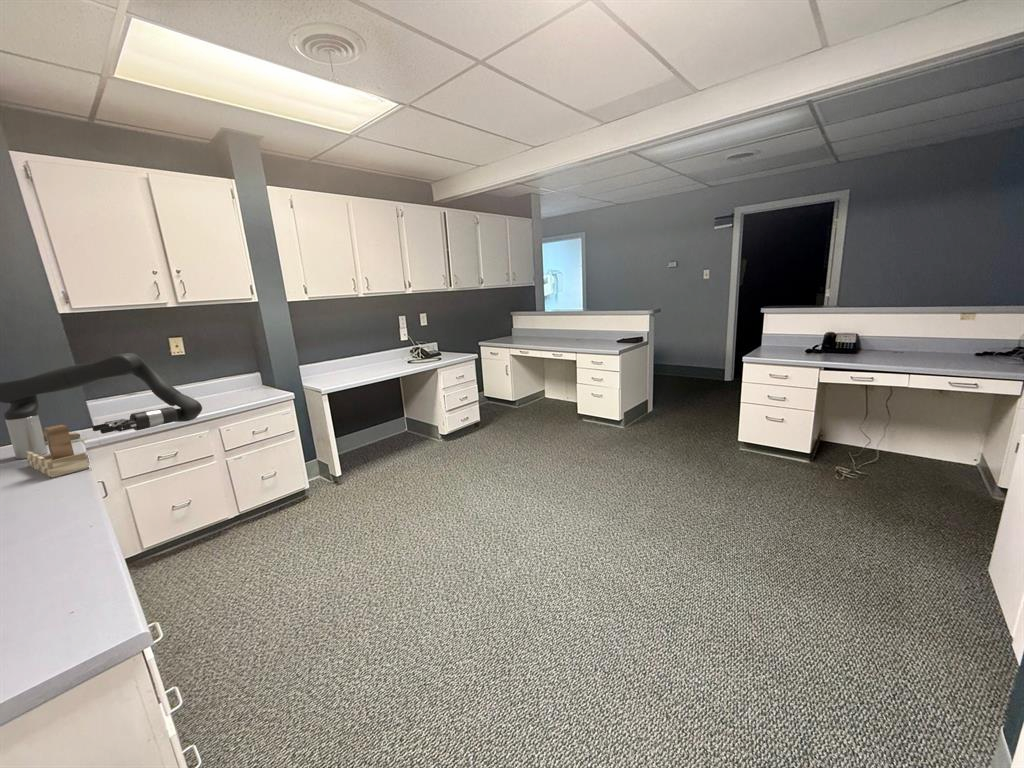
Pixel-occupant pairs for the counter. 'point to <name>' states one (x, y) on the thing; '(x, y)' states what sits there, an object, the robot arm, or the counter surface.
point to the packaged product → (71, 437)
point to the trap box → (57, 464)
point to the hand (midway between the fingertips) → (96, 430)
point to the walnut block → (59, 441)
